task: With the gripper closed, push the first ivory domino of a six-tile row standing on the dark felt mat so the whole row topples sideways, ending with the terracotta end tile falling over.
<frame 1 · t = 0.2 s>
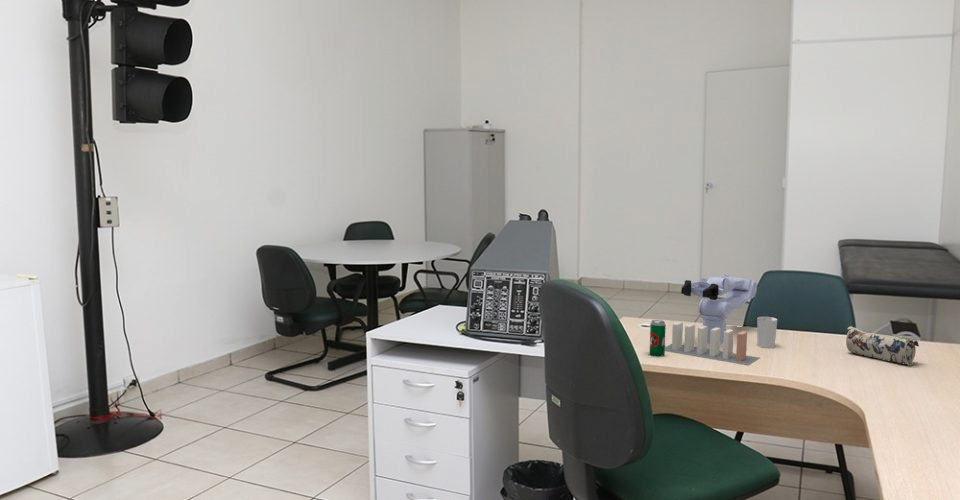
hand: (692, 292, 250), 21 cm above the table, tool horizontal, fingers open, 7 cm apart
domino 6: (740, 359, 243), resting on felt mat
domino 5: (727, 356, 246), resting on felt mat
felt mat: (708, 354, 250), on the table
pencil case: (878, 359, 246), on the table
domino 3: (701, 352, 251), resting on felt mat
soda can: (656, 356, 249), on the table
drinking glass: (765, 346, 262), on the table
domino 4: (714, 354, 249), resting on felt mat
domino 2: (689, 350, 254), resting on felt mat
domino 1: (676, 348, 257), resting on felt mat
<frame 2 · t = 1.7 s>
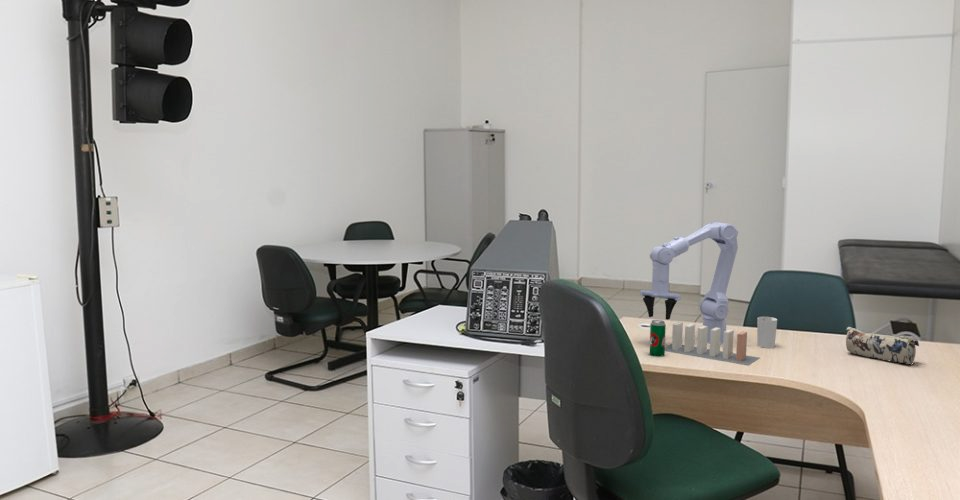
hand: (659, 317, 260), 10 cm above the table, tool pointing down, fingers open, 6 cm apart
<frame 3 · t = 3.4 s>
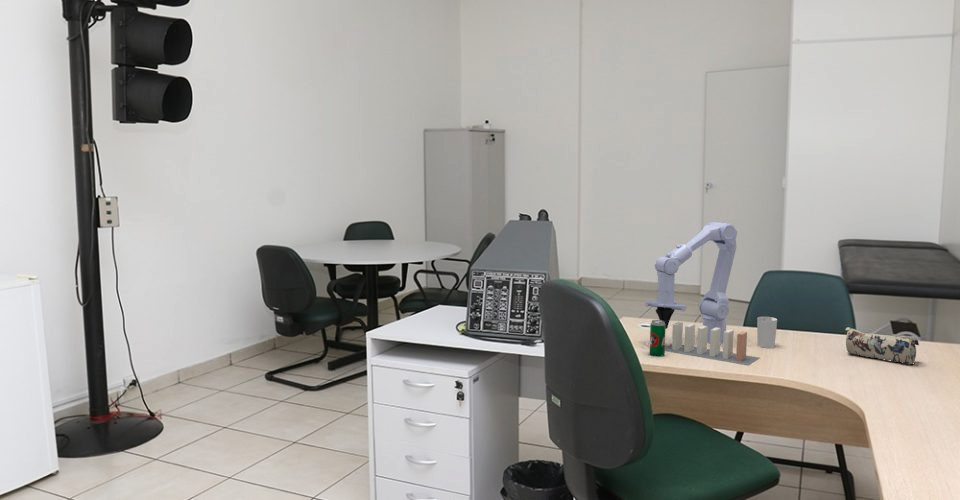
hand: (664, 328, 259), 7 cm above the table, tool pointing down, fingers closed
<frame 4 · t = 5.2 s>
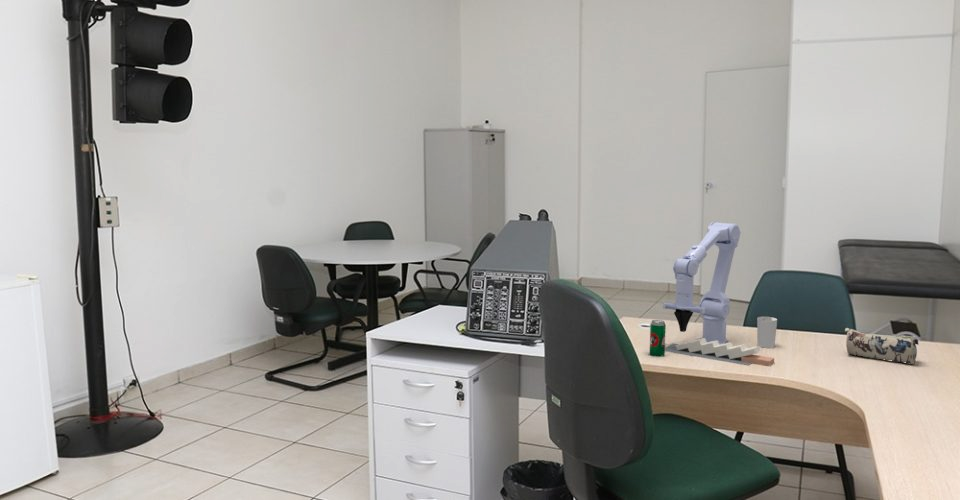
hand: (683, 331, 255), 7 cm above the table, tool pointing down, fingers closed
domino 6: (744, 357, 242), point 1 cm above the table, tilted 90°, touching domino 5, felt mat
domino 5: (731, 355, 245), point 1 cm above the table, tilted 68°, touching domino 4, domino 6
domino 3: (704, 350, 251), point 1 cm above the table, tilted 70°, touching domino 2, domino 4, felt mat
domino 4: (718, 353, 248), point 1 cm above the table, tilted 68°, touching domino 3, domino 5, felt mat
domino 2: (691, 348, 253), point 1 cm above the table, tilted 70°, touching domino 1, domino 3, felt mat
domino 1: (679, 346, 256), point 1 cm above the table, tilted 70°, touching domino 2
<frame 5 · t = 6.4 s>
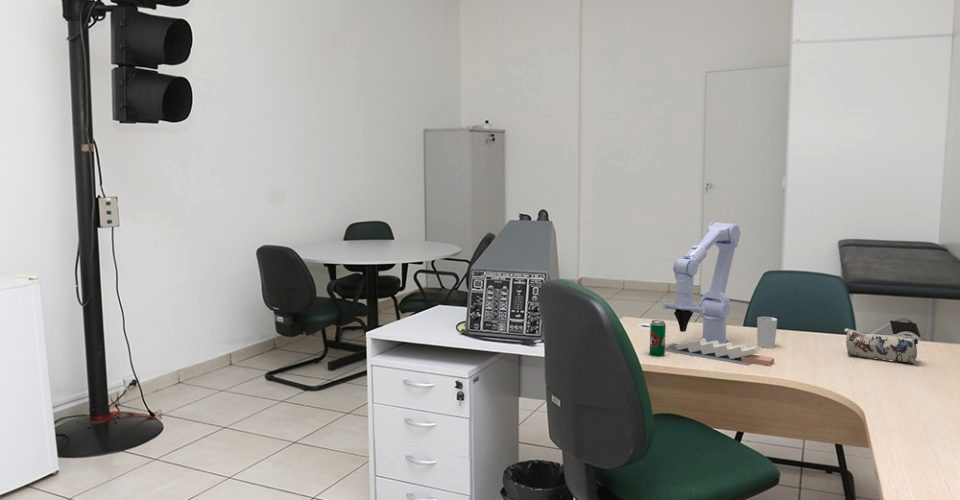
hand: (683, 331, 255), 7 cm above the table, tool pointing down, fingers closed
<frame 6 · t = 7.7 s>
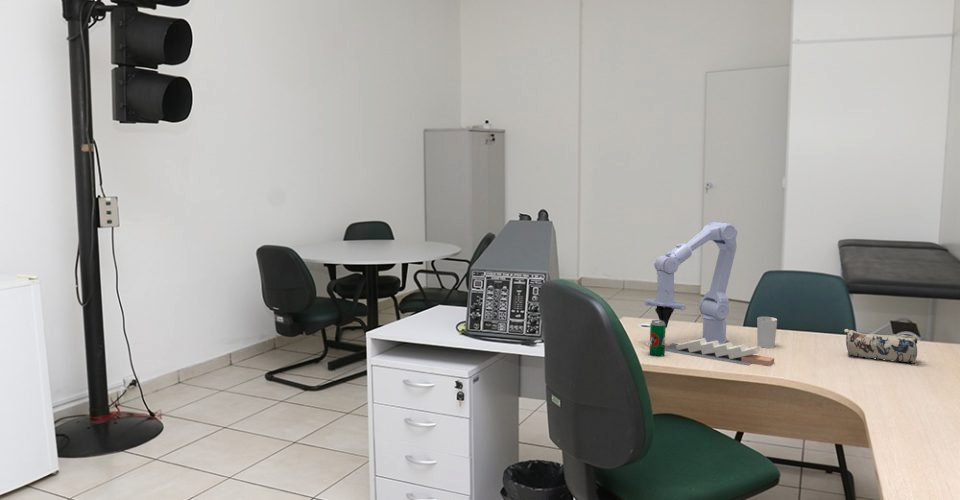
hand: (664, 327, 259), 7 cm above the table, tool pointing down, fingers closed
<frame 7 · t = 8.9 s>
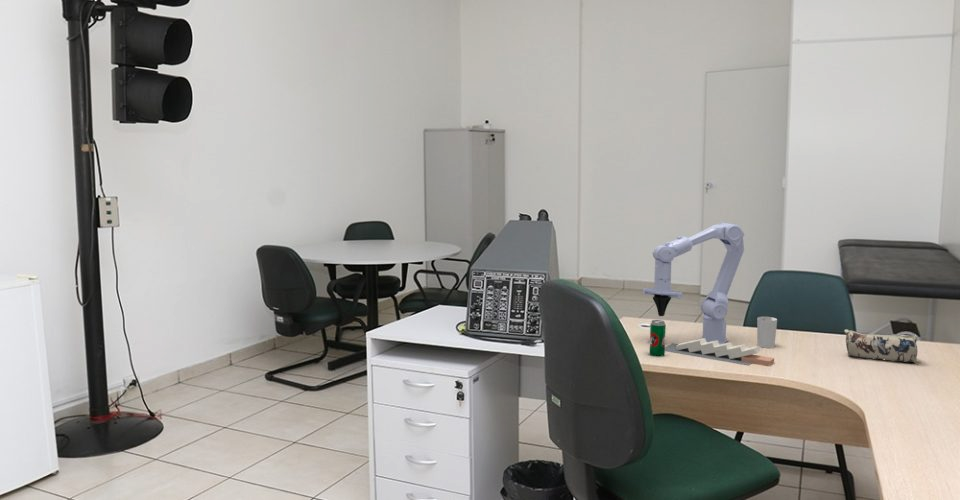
hand: (661, 315, 264), 10 cm above the table, tool pointing down, fingers closed
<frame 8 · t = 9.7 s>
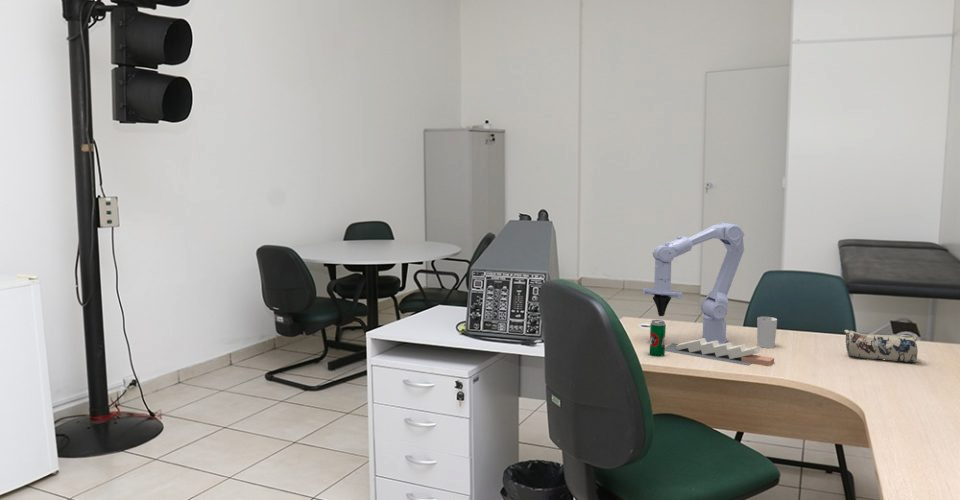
hand: (661, 315, 264), 10 cm above the table, tool pointing down, fingers closed
at the end: domino 6 tilted 90°; domino 1 tilted 70° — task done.
